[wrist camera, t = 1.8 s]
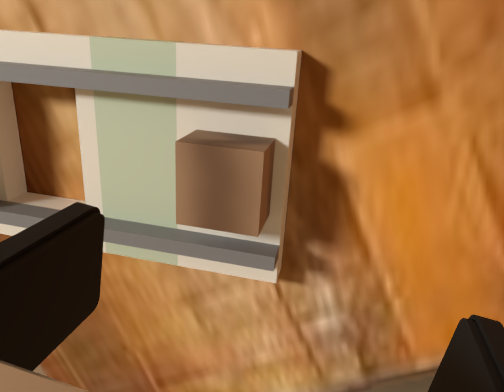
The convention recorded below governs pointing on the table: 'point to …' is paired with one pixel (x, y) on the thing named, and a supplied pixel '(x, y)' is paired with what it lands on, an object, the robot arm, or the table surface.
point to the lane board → (152, 138)
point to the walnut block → (224, 181)
